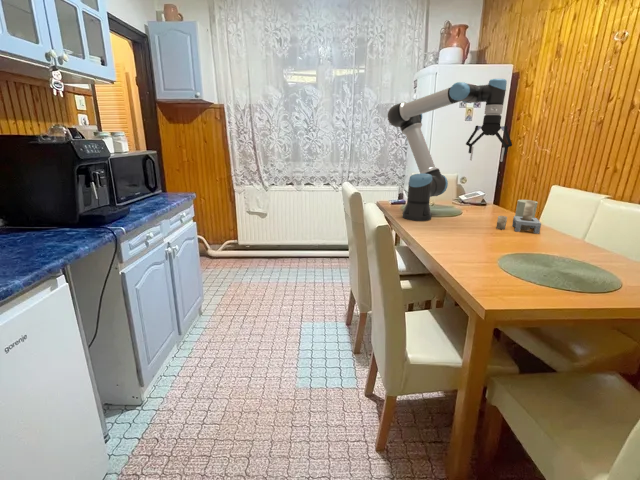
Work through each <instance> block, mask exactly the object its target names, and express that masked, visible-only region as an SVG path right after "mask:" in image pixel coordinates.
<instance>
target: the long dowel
mask: <svg viewBox="0 0 640 480" xmlns="http://www.w3.org/2000/svg"><path fill="white" fill-rule="evenodd" d="M526 200H527V201H526V202H525V207H524V212H523V218H522V220H524V221H532V216H533V211H534V206H535V201H536V200H532V201H529V200H530V199H526ZM521 230H522V231H525V232H527V231H530V230H531V228H530V226H529V225H521V228H520V231H521Z"/></svg>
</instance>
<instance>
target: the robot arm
mask: <svg viewBox="0 0 640 480" xmlns="http://www.w3.org/2000/svg"><path fill="white" fill-rule="evenodd" d="M506 92H507V79H505V78H492V79H489V81H488V83H487V84H484V85H483V84H482V85H481V84H480V85H475V84H471V83H467V82H464V81H462V82H461V81H459V82H455V83H453V85H451V86H450V87H448V88H445V89H442V90H439V91H436V92H434V93H430V94H428V95H424V96H423V97H419V98H417V99H414V100H411V101H409V102H405V101H404V102H399V103H398V104H395V105H393V106H391V107H390V108H389V109H388V112H387V120H388V122H389V124H390V125H391V126H393V127H396V128H399V129H400V131H401V134H403V135H405V136H406V139H407V141H408V144H409V146H410V149H411V152H412V155H413V157H414V160H415V164H416V165H417V169H418V170H419V173H414V174H411V175H410V176H409V179H408V183H407V184H408V189H407V198H406V199H407V200H406V204H405V207H404V209H403V211H402V218H403V219H405V220H409V221H417V222H424V221H430V220H431V219H432V212H431V207H430V206H431V205H430V202H431V201H430V200H431V198H432V197H438V196H440V195H442V194H444V193H445V192H446V191H447V188H448V186H449V184H448V182H449V181H448V179H447V177H446V176H445V175H443V174H442V173H441V171H440V168H438V167H437V166H436V165H435V163H434V159H433V157H432V154H431V153H430V150H429V147H428V144H427V142H426V140H425V137H424V134H423V131H422V126H423V123H422V119H423V114H425V113H428V112H431V111H435V110H437V109H442V108H444V107H446V106H450V105H454V104H456V103H459V102H462V103H464V104H472V103H485V106H484V116H483V121H482V125H475V127H474V130H473V132H472V133H471V134H470V137H469V139H467V141H466V142H465V146H468V154H470V157H469V161H472V159H473V154H474V148H475V147H474V145H475V144H476V143H477V142H478V141H479V140H480V139H481V138H482V137H483V136H492V137H493V136H496V137H497V138H498V140H499V142H500V143H501V145H502V146H503V147H502V148H501V154H500V162H501V163H502V162H503V161H504V155H505V156H506V155H507V151H508V148H509V147H512V146H513V143H512V141H511V138H510V134H509V132H508V126H507V125H504V126H503V125H502V126H501V123H502V114H503V109H504V103H505V97H506ZM480 129H481V133H480V134H479V135H478V136H477V137H476V138H475V139H474V140H473V138H474V136H475V135H476V133H477V132H478V131H480ZM500 130H501V131H502V132H503V134H504V136H505V138H506V141H505V140H504V139H503V137H502V136H501V134H500ZM472 140H473V141H472ZM471 141H472V142H471Z"/></svg>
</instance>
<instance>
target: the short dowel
mask: <svg viewBox="0 0 640 480" xmlns="http://www.w3.org/2000/svg"><path fill="white" fill-rule="evenodd" d="M507 220H508V216H506V215H498V216H497V221H496V225H495V226H496V227H495V228H496V230H503V231H504V230H506V226H507V223H508V222H507Z"/></svg>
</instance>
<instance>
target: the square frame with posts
mask: <svg viewBox="0 0 640 480" xmlns="http://www.w3.org/2000/svg"><path fill="white" fill-rule="evenodd" d="M522 218H523V217H519V216H515V215H514V216H513V219H512V224H511V226H512V227H514V232H517V233H521V229H520V228H521V225H529V226H530V229H533V228H534V229H533V234H539V235H540V231H541V227H542V222H540V220H539V219H538V218H537V217H534V218H532V221H524V220H522Z"/></svg>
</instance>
